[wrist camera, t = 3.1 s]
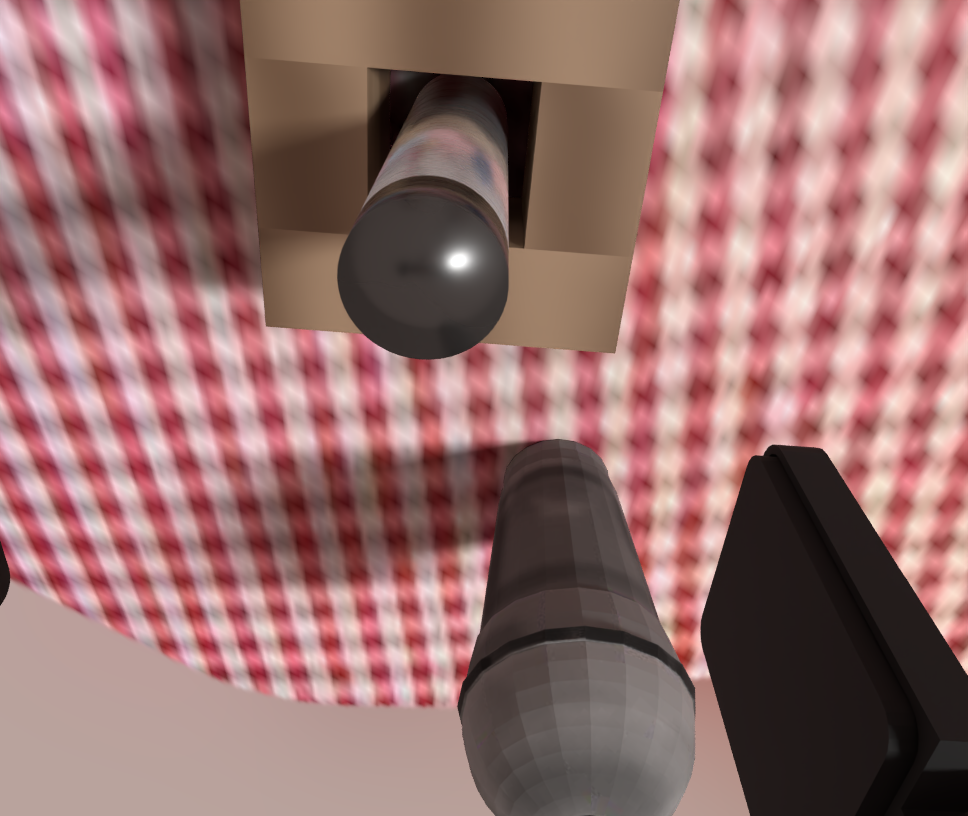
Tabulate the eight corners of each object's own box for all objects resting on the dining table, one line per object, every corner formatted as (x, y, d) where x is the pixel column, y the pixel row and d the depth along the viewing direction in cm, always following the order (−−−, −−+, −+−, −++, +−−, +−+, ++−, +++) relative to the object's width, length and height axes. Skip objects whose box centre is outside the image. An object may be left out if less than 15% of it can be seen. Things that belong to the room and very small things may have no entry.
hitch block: (655, -55, 23) (688, -48, 19) (599, 289, 29) (615, 353, 25) (283, -87, 23) (232, -88, 19) (301, 266, 29) (265, 326, 25)
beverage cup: (542, 379, 31) (585, 929, 14) (677, 469, 33) (855, 1041, 16) (438, 495, 34) (371, 1057, 17) (567, 570, 37) (620, 1136, 20)
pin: (512, 75, 25) (516, 206, 14) (503, 175, 27) (501, 365, 16) (412, 67, 25) (335, 191, 14) (410, 167, 27) (339, 353, 16)
